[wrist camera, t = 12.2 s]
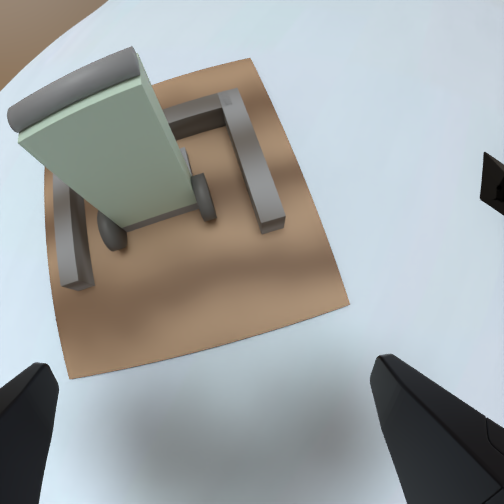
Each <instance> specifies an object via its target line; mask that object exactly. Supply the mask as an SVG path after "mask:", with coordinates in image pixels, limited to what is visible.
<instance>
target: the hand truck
mask: <svg viewBox="0 0 504 504" xmlns="http://www.w3.org/2000/svg"><path fill="white" fill-rule="evenodd" d="M7 119H8V122H9V125H10V127H11V128H12V129H13V131H15V132H17V133H19V137H18V144H20V145H21V146H22V147H23V148H24V149H25V150H26V151H28V152H29V153H30V154H31V155H32V156H33V157H35V158H36V159H37V160H38V161H39V162H40V163H42V164H43V165H44V166H45V167H46V168H47V169H49V170H50V171H51V172H52V173H53V174H55V175H56V176H57V177H58V178H59V179H61V180H62V181H63V182H64V183H65V184H67V185H68V186H69V187H70V188H72V189H73V190H74V191H75V192H76V193H78V194H79V195H80V196H81V197H83V198H84V199H85V200H86V201H88V202H89V203H90V204H91V205H93V206H94V207H95V208H96V209H98V213H97V224H98V229H99V232H100V235H101V238H102V240H103V242H104V244H105V245H106V247H107V248H108V249H109V250H110V251H113V252H114V251H117V250H120V249H123V248H125V247H126V246H127V232H130V231H133V230H136V229H139V228H142V227H145V226H148V225H151V224H154V223H157V222H160V221H163V220H166V219H169V218H172V217H175V216H178V215H181V214H184V213H187V212H190V211H193V210H197V209H199V210H200V213H201V216H202V218H203V220H204V222H206V221H209V220H212V219H216V218H217V215H216V211H215V207H214V204H213V200H212V197H211V193H210V190H209V187H208V184H207V181H206V178H205V175H204V173H201V174H197V175H194V176H193V173H192V169H191V165H190V161H189V157H188V154H187V151H186V149H185V147H183V148H180V149H179V146H178V144H177V142H176V140H175V137H174V135H173V133H172V131H171V128H170V126H169V124H168V122H167V119H166V117H165V115H164V113H163V110H162V108H161V106H160V104H159V101H158V99H157V97H156V94H155V92H154V90H153V88H152V85H151V83H150V81H149V78H148V76H147V74H146V71H145V69H144V67H143V64H142V62H141V60H140V57H139V55H138V53H136V52H135V50H134V48H133V47H132V46H131V47H129V48H126V49H124V50H121V51H119V52H116V53H114V54H111V55H109V56H106V57H104V58H102V59H99V60H97V61H95V62H93V63H90V64H88V65H86V66H84V67H82V68H80V69H78V70H76V71H73V72H71V73H69V74H67V75H65V76H64V77H62V78H60V79H58V80H56V81H54V82H52V83H50V84H48V85H47V86H45V87H43V88H41V89H39V90H38V91H36V92H34V93H33V94H31V95H29V96H27V97H26V98H24V99H23V100H21V101H19V102H18V103H16V104H15V105H13V106H11V107H10V108H9V109H8V112H7Z"/></svg>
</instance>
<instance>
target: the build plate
mask: <svg viewBox="0 0 504 504" xmlns="http://www.w3.org/2000/svg"><path fill="white" fill-rule="evenodd" d="M480 199H481V200H482V201H483V202H485V203H486V204H488V205H489V206H491V207H492V208H494V209H495V210H497V211H498V212H499V213H501V214H502V215H504V164H502V163H501V162H499V161H498V160H496V159H495V158H494V157H492V156H491V155H489V154H488V153H486V152H484V157H483V171H482V183H481V192H480Z"/></svg>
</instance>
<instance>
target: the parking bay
mask: <svg viewBox="0 0 504 504" xmlns="http://www.w3.org/2000/svg"><path fill="white" fill-rule="evenodd" d="M152 88H153V90H154V92H155V94H156V97H157V99H158V101H159V104H160V106H161V108H162V110H163V113H164V115H165V117H166V119H167V122H168V124H169V126H170V128H171V131H172V133H173V135H174V137H175V140H176V142H177V144H178V146H179V149H180V148H183V147H185V149H186V151H187V154H188V157H189V161H190V165H191V169H192V173H193V176H194V175H197V174H201V173H204V175H205V178H206V181H207V184H208V187H209V190H210V193H211V197H212V200H213V204H214V207H215V211H216V215H217V218H216V219H212V220H209V221H206V222H204V220H203V218H202V216H201V213H200V210H199V209H197V210H193V211H190V212H187V213H184V214H181V215H178V216H175V217H172V218H169V219H166V220H163V221H160V222H157V223H154V224H151V225H148V226H145V227H142V228H139V229H136V230H133V231H130V232H127V246H126V247H125V248H123V249H120V250H117V251H114V252H113V251H110V250H109V249H108V248H107V247H106V245H105V244H104V242H103V240H102V238H101V235H100V232H99V229H98V224H97V213H98V209H96V208H95V207H94V206H93V205H91V204H90V203H89V202H88V201H86V200H85V199H84V198H83V197H81V196H80V195H79V194H78V193H76V192H75V191H74V190H73V189H72V188H70V187H69V186H68V185H67V184H65V183H64V182H63V181H62V180H61V179H59V178H58V177H57V176H56V175H55V174H53V173H52V172H51V171H50V170H49V169H47V168H46V167H45V175H44V202H45V229H46V244H47V256H48V266H49V275H50V283H51V290H52V297H53V304H54V310H55V316H56V322H57V327H58V332H59V337H60V342H61V346H62V351H63V355H64V360H65V364H66V368H67V372H68V376H69V379H74V378H80V377H85V376H91V375H96V374H101V373H106V372H111V371H116V370H121V369H126V368H130V367H135V366H140V365H144V364H149V363H153V362H157V361H161V360H166V359H170V358H174V357H178V356H182V355H186V354H190V353H194V352H198V351H202V350H205V349H209V348H213V347H217V346H220V345H224V344H228V343H231V342H235V341H238V340H242V339H245V338H249V337H252V336H255V335H259V334H262V333H265V332H269V331H272V330H275V329H278V328H282V327H285V326H288V325H291V324H294V323H297V322H300V321H303V320H306V319H310V318H313V317H316V316H318V315H321V314H324V313H327V312H330V311H333V310H336V309H339V308H342V307H344V306H347V305H350V303H349V300H348V297H347V294H346V291H345V288H344V285H343V282H342V279H341V276H340V273H339V270H338V267H337V264H336V261H335V258H334V256H333V253H332V250H331V247H330V244H329V242H328V239H327V236H326V233H325V231H324V228H323V225H322V223H321V220H320V217H319V215H318V212H317V210H316V207H315V204H314V202H313V199H312V197H311V194H310V192H309V189H308V187H307V184H306V182H305V179H304V177H303V174H302V172H301V169H300V167H299V164H298V162H297V160H296V157H295V155H294V152H293V150H292V148H291V145H290V143H289V141H288V138H287V136H286V134H285V131H284V129H283V127H282V125H281V122H280V120H279V118H278V116H277V113H276V111H275V109H274V107H273V105H272V102H271V100H270V98H269V96H268V94H267V92H266V89H265V87H264V85H263V83H262V81H261V79H260V77H259V75H258V73H257V71H256V68H255V66H254V64H253V62H252V60H251V58H247V59H243V60H238V61H234V62H230V63H226V64H222V65H218V66H214V67H210V68H206V69H202V70H199V71H195V72H192V73H188V74H185V75H182V76H179V77H175V78H172V79H169V80H166V81H163V82H160V83H157V84H154V85H152Z"/></svg>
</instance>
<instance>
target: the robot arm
mask: <svg viewBox="0 0 504 504" xmlns="http://www.w3.org/2000/svg"><path fill="white" fill-rule="evenodd" d="M370 385H371V389H372V393H373V397H374V400H375V405H376V409H377V413H378V417H379V421H380V425H381V429H382V432H383V435H384V438H385V440H386V443H387V446H388V449H389V452H390V454H391V457H392V460H393V463H394V466H395V469H396V472H397V474H398V477H399V480H400V483H401V486H402V489H403V492H404V495H405V498H406V502H407V504H504V428H503V427H501V426H500V425H498V424H496V423H495V422H493V421H492V420H490V419H489V418H486V417H485V416H484V415H483V414H481V413H480V412H478V411H477V410H475V409H474V408H472V407H471V406H469V405H468V404H466V403H465V402H463V401H462V400H460V399H459V398H457V397H456V396H454V395H453V394H451V393H450V392H448V391H447V390H445V389H444V388H442V387H441V386H439V385H438V384H436V383H435V382H433V381H432V380H430V379H429V378H427V377H426V376H424V375H423V374H421V373H420V372H418V371H417V370H416V369H414V368H413V367H411V366H410V365H408V364H407V363H405V362H404V361H402V360H401V359H399V358H398V357H396V356H395V355H393V354H385V355H380V356H378V357H377V358H376V360H375V364H374V367H373V370H372V373H371V376H370ZM58 394H59V386H58V382H57V381H56V379H55V377H54V375H53V373H52V371H51V369H50V367H49V365H47V364H46V363H38V362H36V363H33V364H32V365H31V366H29V367H28V368H27V369H25V370H24V371H23V372H21V373H20V374H19V375H17V376H16V377H15V378H13V379H12V380H11V381H9V382H8V383H7V384H5V385H4V386H3V387H2V388H0V504H39V499H40V492H41V486H42V481H43V475H44V470H45V465H46V460H47V456H48V451H49V447H50V442H51V438H52V432H53V426H54V419H55V412H56V406H57V399H58Z"/></svg>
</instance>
